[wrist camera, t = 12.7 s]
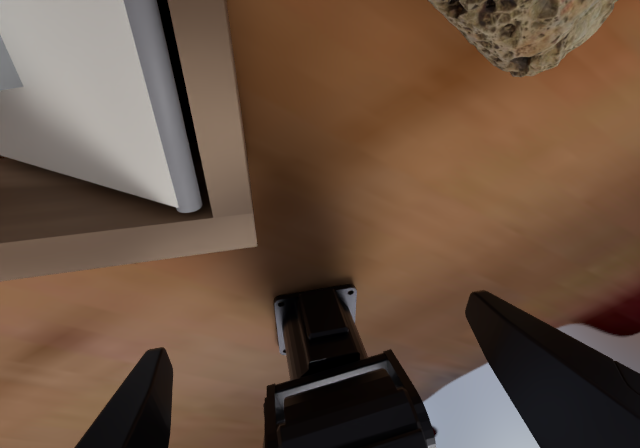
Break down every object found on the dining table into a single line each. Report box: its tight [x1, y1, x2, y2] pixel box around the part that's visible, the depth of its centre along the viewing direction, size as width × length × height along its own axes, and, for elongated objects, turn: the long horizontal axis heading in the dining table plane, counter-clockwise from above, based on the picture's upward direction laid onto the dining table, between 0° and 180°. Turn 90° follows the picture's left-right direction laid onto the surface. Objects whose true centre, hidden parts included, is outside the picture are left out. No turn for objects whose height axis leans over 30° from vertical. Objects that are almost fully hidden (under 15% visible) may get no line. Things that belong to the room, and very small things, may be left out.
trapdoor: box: [0, 0, 203, 213], centre depth 11 cm, size 12×12×1 cm
